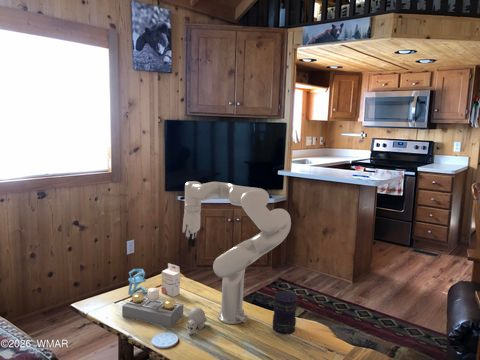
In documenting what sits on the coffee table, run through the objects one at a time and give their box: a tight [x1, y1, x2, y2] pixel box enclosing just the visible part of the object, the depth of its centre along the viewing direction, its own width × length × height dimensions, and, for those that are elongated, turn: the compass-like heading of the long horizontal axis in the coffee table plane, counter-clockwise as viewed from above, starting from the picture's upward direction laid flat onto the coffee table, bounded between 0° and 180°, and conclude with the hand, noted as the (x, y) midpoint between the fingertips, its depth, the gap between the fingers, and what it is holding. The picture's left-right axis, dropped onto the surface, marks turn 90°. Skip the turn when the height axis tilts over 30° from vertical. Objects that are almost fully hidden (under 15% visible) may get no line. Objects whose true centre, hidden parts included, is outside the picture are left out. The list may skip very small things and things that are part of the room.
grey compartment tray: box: [121, 295, 184, 328], centre depth 168 cm, size 24×12×6 cm, turn 72°
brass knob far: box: [131, 292, 145, 304], centre depth 170 cm, size 5×5×3 cm
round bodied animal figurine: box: [185, 306, 207, 336], centre depth 158 cm, size 7×12×8 cm, turn 158°
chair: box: [127, 268, 148, 297], centre depth 190 cm, size 8×8×12 cm
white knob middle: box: [147, 287, 160, 301], centre depth 167 cm, size 5×5×4 cm
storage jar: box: [272, 290, 298, 336], centre depth 161 cm, size 10×10×15 cm
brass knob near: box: [163, 298, 176, 311], centre depth 165 cm, size 5×5×3 cm
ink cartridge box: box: [161, 262, 181, 298], centre depth 190 cm, size 9×5×15 cm, turn 58°
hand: (191, 246), depth 176 cm, fingers closed
